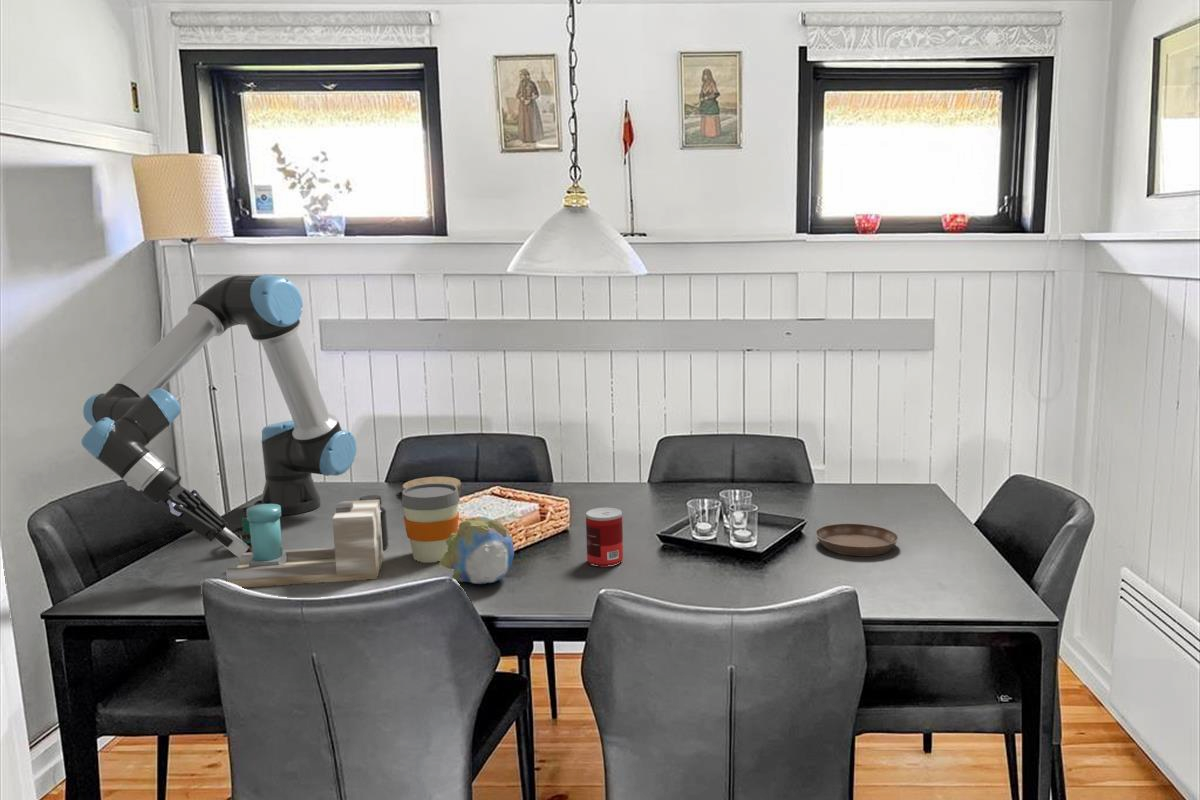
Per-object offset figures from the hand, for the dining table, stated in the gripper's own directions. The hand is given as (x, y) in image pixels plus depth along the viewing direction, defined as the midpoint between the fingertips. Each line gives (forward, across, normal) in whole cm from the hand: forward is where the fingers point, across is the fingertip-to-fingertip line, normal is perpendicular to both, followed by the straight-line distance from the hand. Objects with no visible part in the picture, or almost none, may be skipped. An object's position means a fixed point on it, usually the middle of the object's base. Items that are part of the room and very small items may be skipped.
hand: (244, 552), depth 200 cm
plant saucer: (+97, +3, +89) cm, 132 cm away
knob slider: (+6, 0, +1) cm, 6 cm away
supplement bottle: (+21, -15, +13) cm, 29 cm away
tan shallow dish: (+29, -61, +20) cm, 71 cm away
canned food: (+57, +4, +50) cm, 76 cm away
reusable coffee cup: (+31, -7, +23) cm, 40 cm away
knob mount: (+13, 0, +5) cm, 14 cm away
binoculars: (+1, -21, -7) cm, 22 cm away
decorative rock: (+38, +10, +30) cm, 50 cm away
